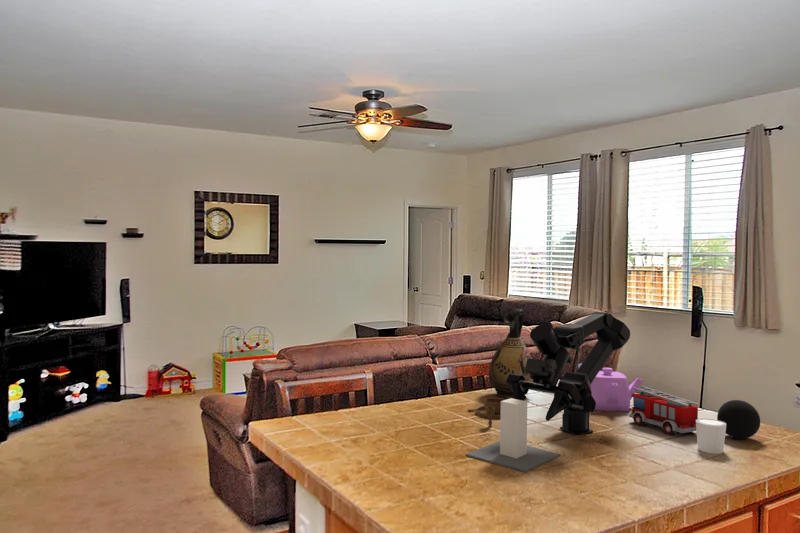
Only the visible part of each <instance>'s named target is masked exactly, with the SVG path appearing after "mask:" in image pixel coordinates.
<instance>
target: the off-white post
mask: <svg viewBox="0 0 800 533" xmlns="http://www.w3.org/2000/svg"><path fill="white" fill-rule="evenodd" d="M499 420H500V426H499V428H500V430H499V431H500V432H499V433H500V434H499V441H500V454H502V455H506V456H510V457H513V458H518V457H521V456H523V455H525V454H527V446H528V444H527V443H528V442H527V441H528V439H527V438H528V401H526V400H524V401H523V400H517V399H513V398H506V400H503V401H501V417H500V419H499Z"/></svg>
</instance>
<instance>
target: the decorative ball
mask: <svg viewBox="0 0 800 533" xmlns="http://www.w3.org/2000/svg"><path fill="white" fill-rule="evenodd" d="M716 416H717V417H716V420H718V421H722V422H725V423H726V432H725V435H728V436H729V437H731V438H734V439H739V440H743V439H744V440H745V439H749V438H751V437H753V436H755V435H756V434H757V433H758V431H759V430H760V426H761V417H760V414H759V412H758V410H757V409H756V407H754V406H753V405H752V404H751V403H749V402H748V401H747V402H746V401H745V400H740V399H734V400H729V401H727V402H724V403H723V404H722V405H721V406H720V407H719V409H718V411H717V415H716Z"/></svg>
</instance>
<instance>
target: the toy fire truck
mask: <svg viewBox="0 0 800 533" xmlns="http://www.w3.org/2000/svg"><path fill="white" fill-rule="evenodd" d="M640 386H641V387H640V388H635V387H632V389H635V390H637V391H638V393H636V392H635V394H632V402H633V406H632V407H631V409H629V410H630V412H629V413H628V414H629V415H628V417H629V418H632V419H633V422H634V424H635V425H636V426H639V427H641V426H644V425H645V423H647V424H651V425H655V426H658V427H661V428H662V431H663V433H664V434H665V435H666V436H673V435H675V434H676V432H678V433H680V434H685V433H692V432H693V433H694V432H697V431H696V420H697V419H699V418H698V417H699V416H698V415H699V414H698V413H699V407H698V406H699V402H694V401H692V400H689V399H685V398H682V397H679V396H675V395H672V394H669V393H667V392H663V391H661V390H657V389H653V388H650V387H647V386H644V385H640ZM694 405H695V406H694Z"/></svg>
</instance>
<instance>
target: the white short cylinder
mask: <svg viewBox="0 0 800 533" xmlns="http://www.w3.org/2000/svg"><path fill="white" fill-rule="evenodd" d="M695 432H696V439H697V440H696V442H697V449H698V450H699V451H700V452H701V451H702V452H704V453H706V454H707V453H709V454H722V453H724V449H725V440H726V433H725V432H726V423H725V422H722V421H718V420H717V419H710V418H698V419H697V420H696V431H695Z"/></svg>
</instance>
